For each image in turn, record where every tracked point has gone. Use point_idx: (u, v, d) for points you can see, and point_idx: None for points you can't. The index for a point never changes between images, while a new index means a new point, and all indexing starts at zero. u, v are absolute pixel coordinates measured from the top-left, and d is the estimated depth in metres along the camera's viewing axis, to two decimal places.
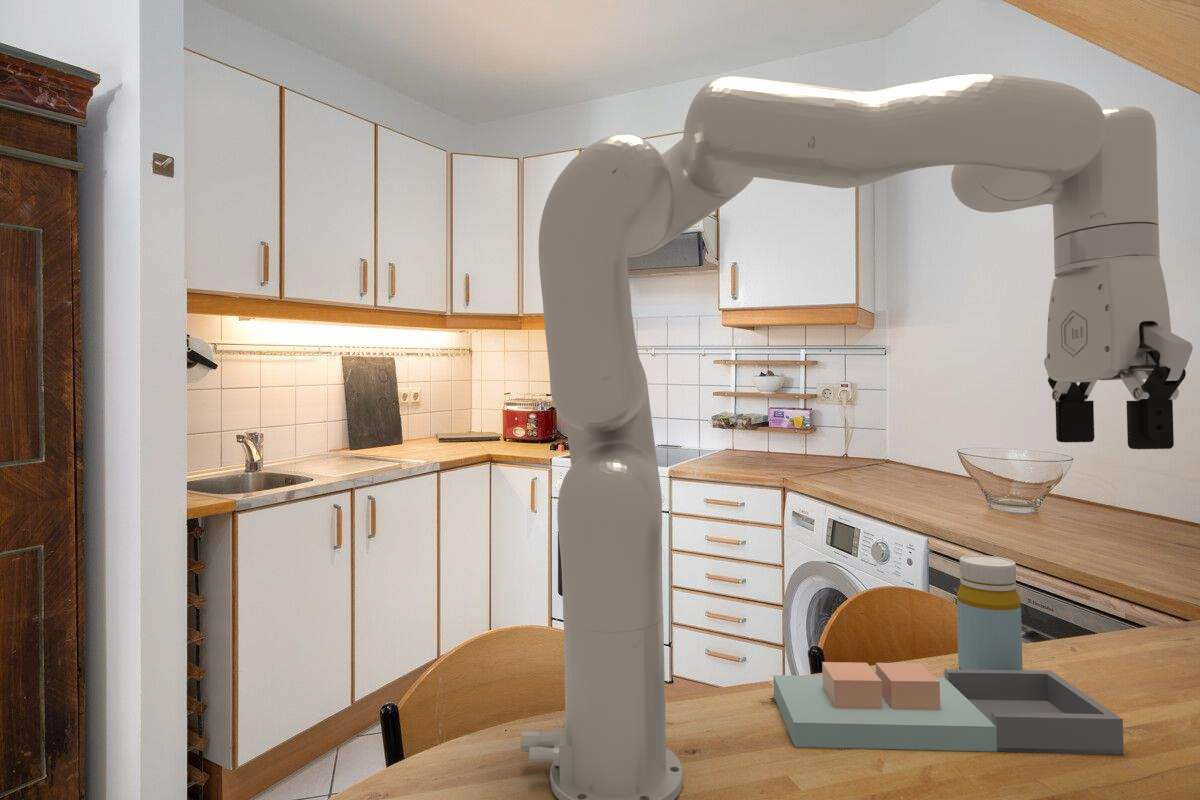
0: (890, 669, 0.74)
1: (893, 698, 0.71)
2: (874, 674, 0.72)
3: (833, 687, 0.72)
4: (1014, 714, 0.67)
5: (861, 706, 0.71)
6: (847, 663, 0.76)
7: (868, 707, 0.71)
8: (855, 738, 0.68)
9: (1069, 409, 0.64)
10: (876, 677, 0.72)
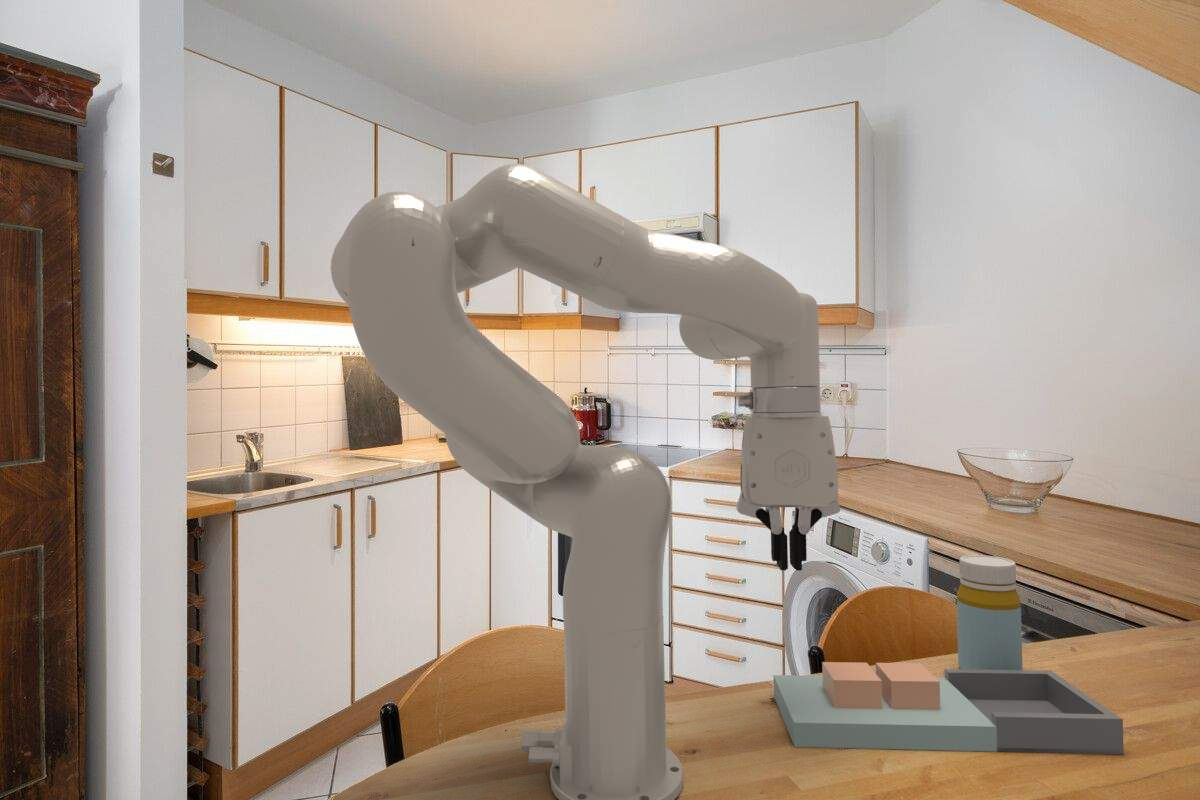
0: (890, 669, 0.74)
1: (893, 698, 0.71)
2: (874, 674, 0.72)
3: (833, 687, 0.72)
4: (1014, 714, 0.67)
5: (861, 706, 0.71)
6: (847, 663, 0.76)
7: (868, 707, 0.71)
8: (855, 738, 0.68)
9: None
10: (876, 677, 0.72)
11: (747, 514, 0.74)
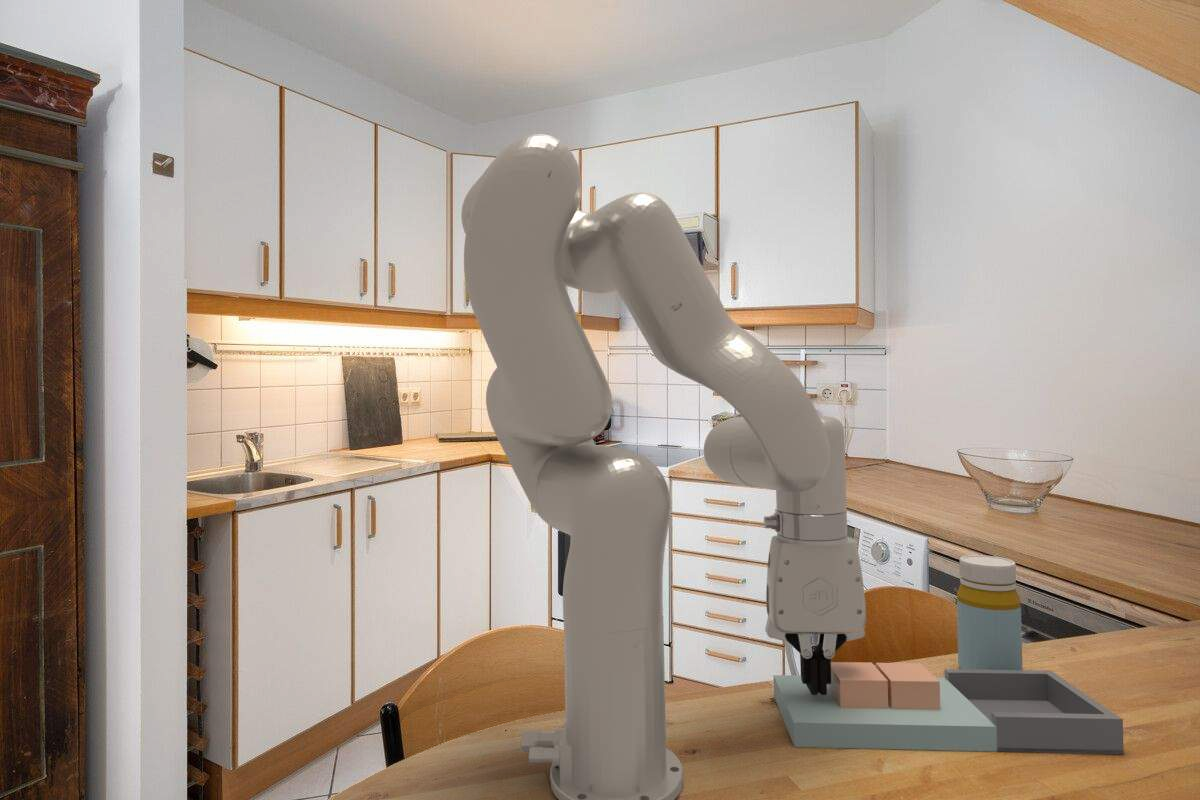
0: (890, 669, 0.74)
1: (893, 698, 0.71)
2: (880, 674, 0.73)
3: (839, 687, 0.71)
4: (1014, 714, 0.67)
5: (867, 706, 0.71)
6: (852, 663, 0.76)
7: (874, 707, 0.71)
8: (855, 738, 0.68)
9: None
10: (882, 677, 0.72)
11: (777, 638, 0.74)
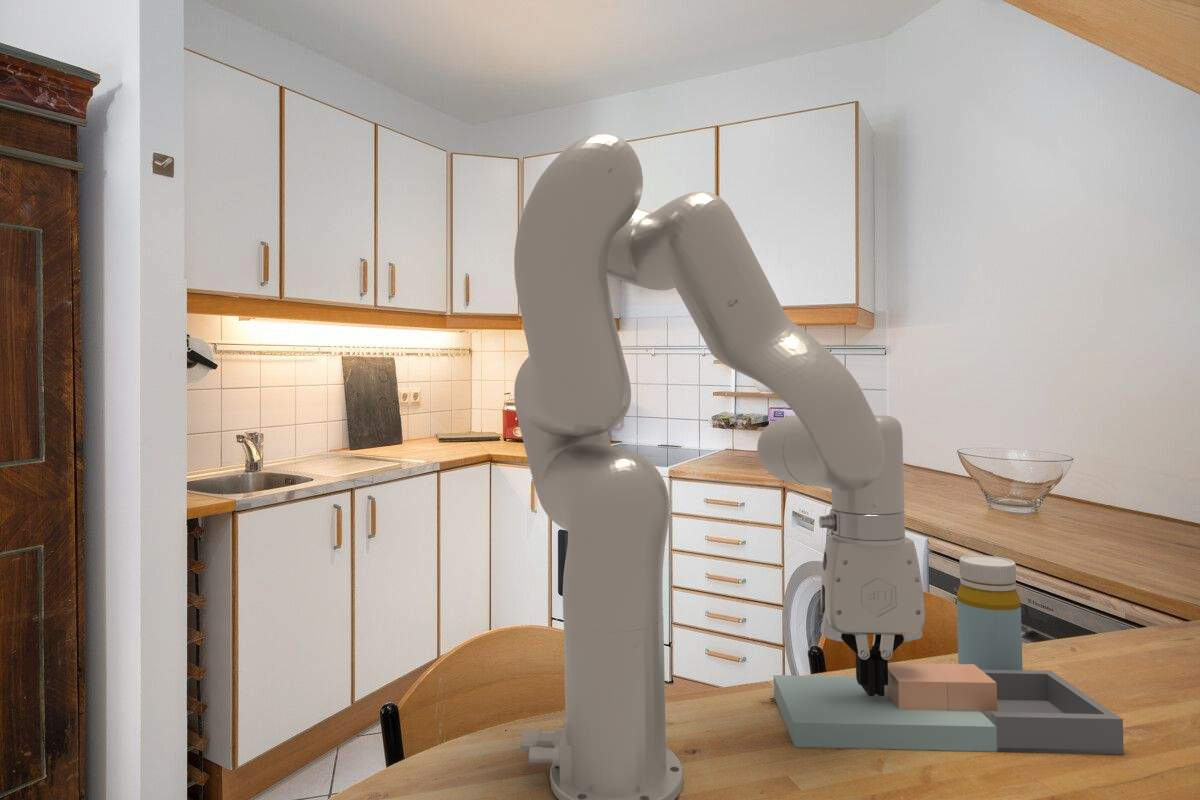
0: (944, 670, 0.73)
1: (949, 700, 0.70)
2: (938, 675, 0.72)
3: (897, 688, 0.71)
4: (1014, 714, 0.67)
5: (926, 707, 0.70)
6: (908, 664, 0.75)
7: (933, 708, 0.70)
8: (855, 738, 0.68)
9: None
10: (941, 678, 0.71)
11: (833, 638, 0.73)
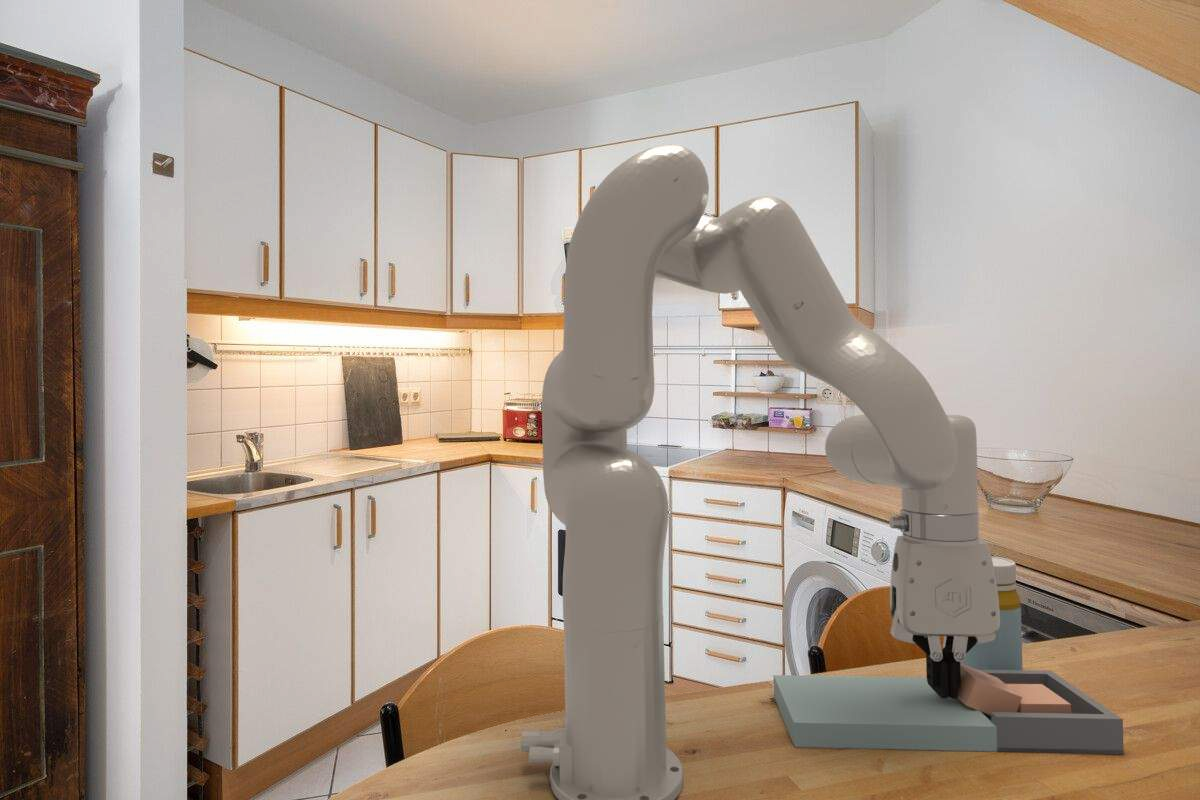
0: None
1: None
2: (1011, 689, 0.71)
3: (972, 686, 0.70)
4: (1014, 714, 0.67)
5: None
6: (979, 671, 0.74)
7: None
8: (855, 738, 0.68)
9: None
10: (1015, 692, 0.70)
11: (904, 640, 0.72)
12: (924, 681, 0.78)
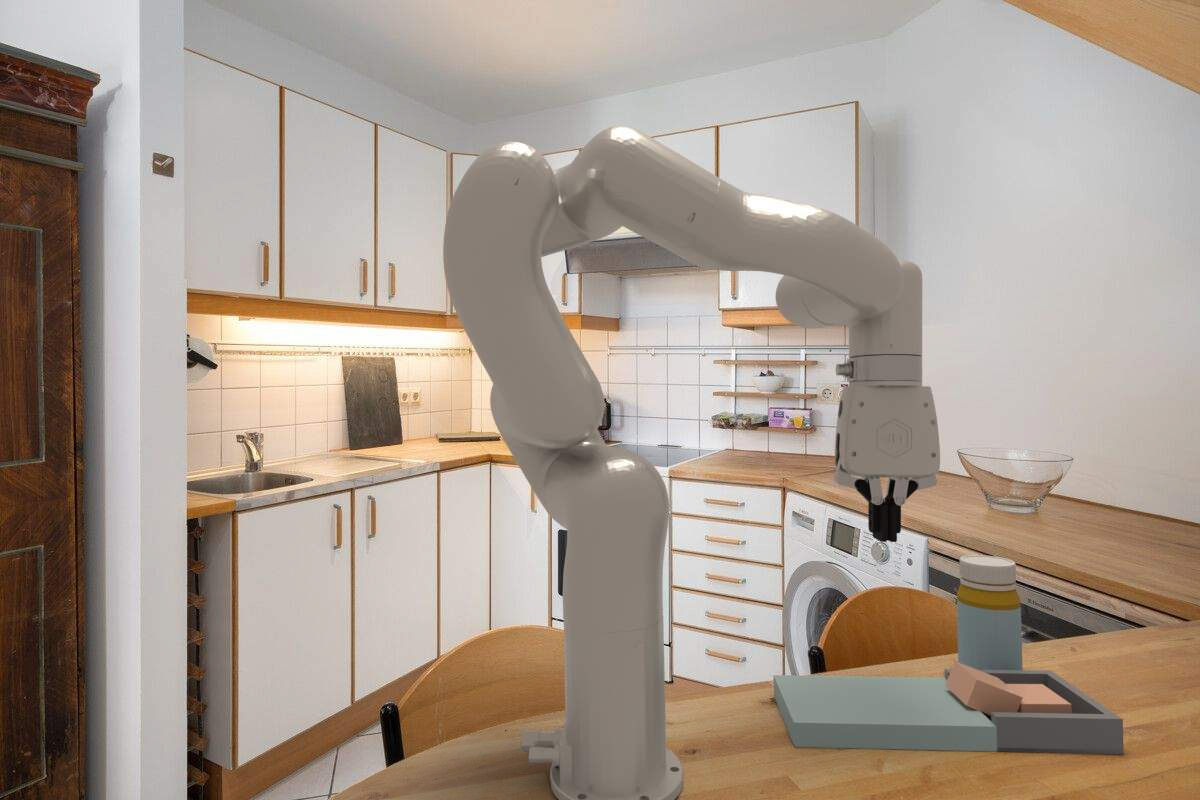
0: None
1: None
2: (1012, 689, 0.71)
3: (972, 686, 0.70)
4: (1014, 714, 0.67)
5: None
6: (979, 671, 0.74)
7: None
8: (855, 738, 0.68)
9: None
10: (1015, 692, 0.70)
11: (846, 485, 0.73)
12: (924, 681, 0.78)
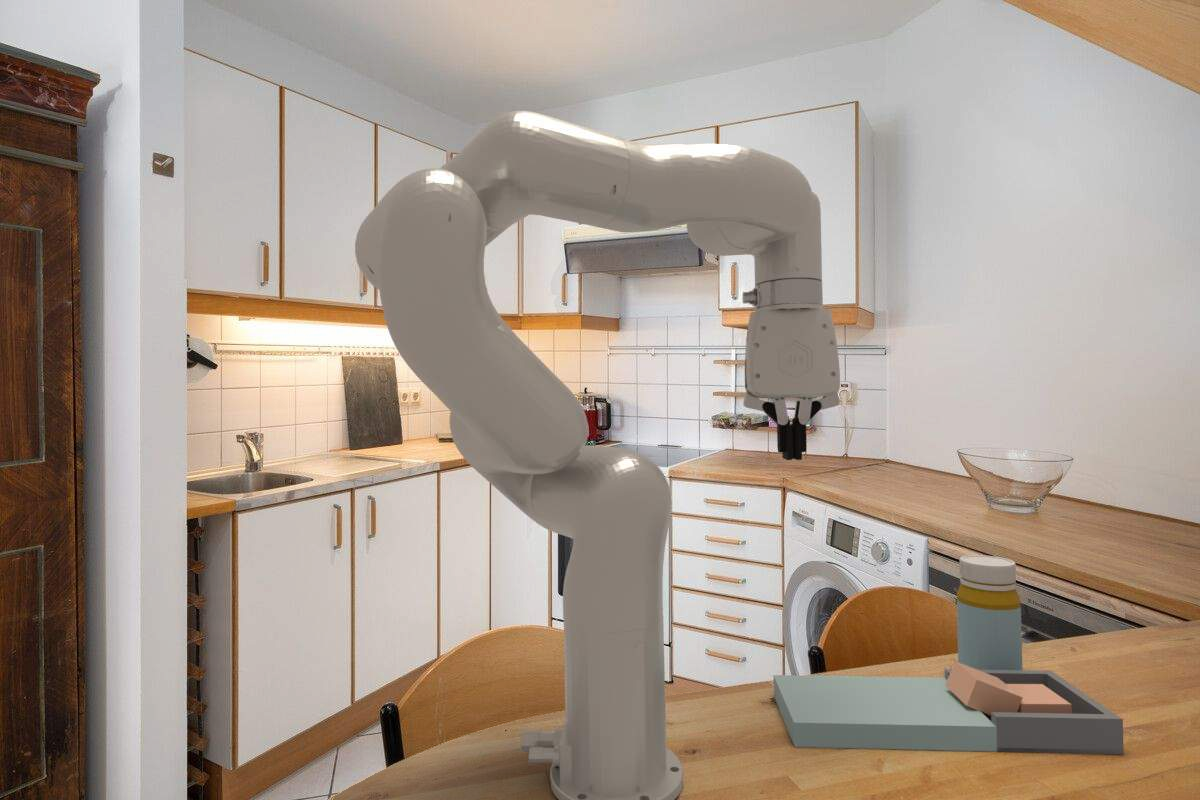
0: None
1: None
2: (1012, 689, 0.71)
3: (972, 686, 0.70)
4: (1014, 714, 0.67)
5: None
6: (979, 671, 0.74)
7: None
8: (855, 738, 0.68)
9: None
10: (1015, 692, 0.70)
11: (754, 407, 0.76)
12: (924, 681, 0.78)
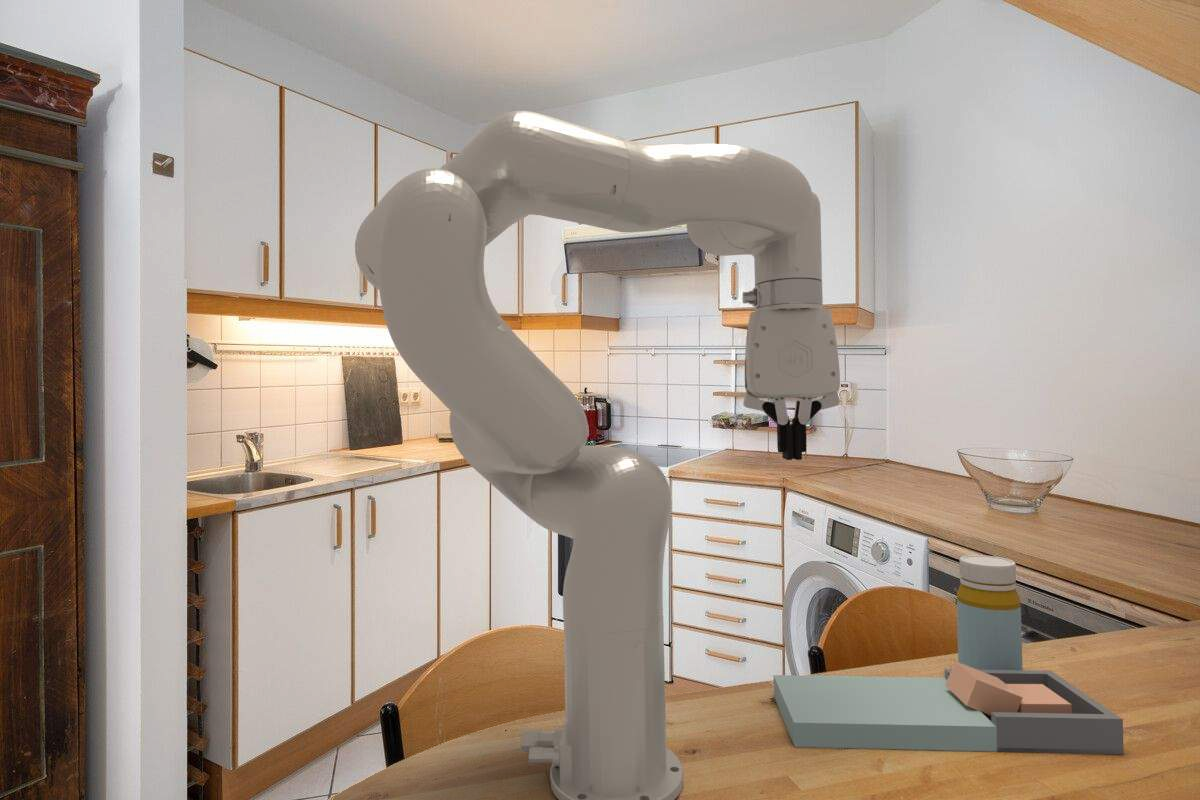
0: None
1: None
2: (1012, 689, 0.71)
3: (972, 686, 0.70)
4: (1014, 714, 0.67)
5: None
6: (979, 671, 0.74)
7: None
8: (855, 738, 0.68)
9: None
10: (1015, 692, 0.70)
11: (754, 407, 0.76)
12: (924, 681, 0.78)
